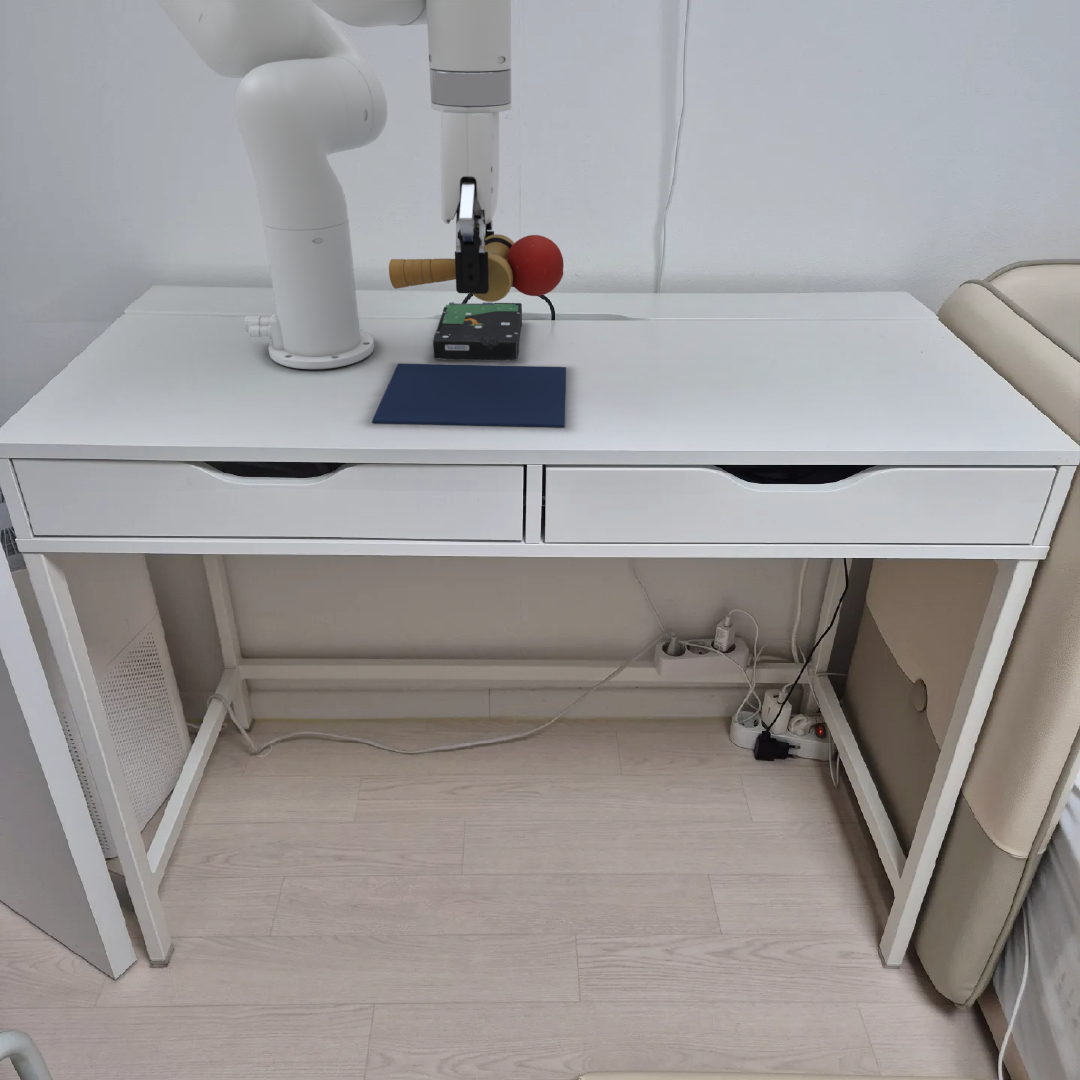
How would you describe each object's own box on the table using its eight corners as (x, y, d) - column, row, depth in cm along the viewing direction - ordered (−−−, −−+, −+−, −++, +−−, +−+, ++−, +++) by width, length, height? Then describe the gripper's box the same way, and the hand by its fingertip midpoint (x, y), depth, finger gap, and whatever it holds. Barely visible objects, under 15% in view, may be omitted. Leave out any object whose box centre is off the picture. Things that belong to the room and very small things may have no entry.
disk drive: (519, 364, 108) (522, 321, 120) (519, 341, 106) (522, 300, 119) (433, 363, 108) (445, 320, 120) (432, 340, 106) (444, 300, 119)
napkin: (372, 423, 93) (372, 420, 93) (398, 365, 107) (397, 363, 106) (564, 427, 93) (564, 424, 92) (566, 369, 106) (566, 366, 106)
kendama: (387, 314, 91) (561, 297, 88) (376, 249, 89) (555, 230, 86) (407, 304, 99) (569, 289, 96) (398, 244, 96) (564, 226, 93)
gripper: (442, 80, 91) (450, 257, 100) (417, 102, 76) (428, 306, 86) (516, 81, 91) (516, 258, 100) (505, 103, 76) (507, 308, 85)
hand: (476, 279), depth 93 cm, fingers closed on kendama, 7 cm apart
